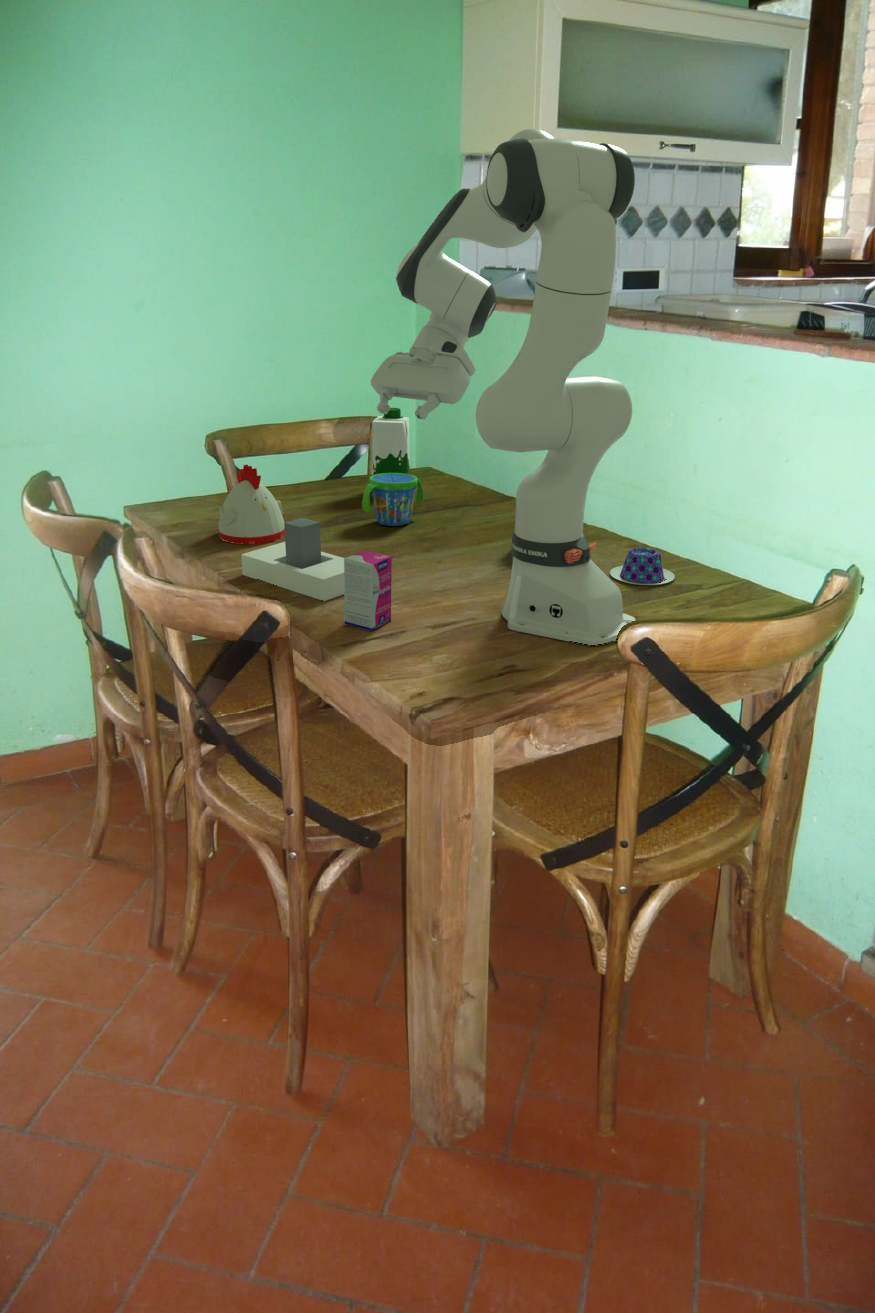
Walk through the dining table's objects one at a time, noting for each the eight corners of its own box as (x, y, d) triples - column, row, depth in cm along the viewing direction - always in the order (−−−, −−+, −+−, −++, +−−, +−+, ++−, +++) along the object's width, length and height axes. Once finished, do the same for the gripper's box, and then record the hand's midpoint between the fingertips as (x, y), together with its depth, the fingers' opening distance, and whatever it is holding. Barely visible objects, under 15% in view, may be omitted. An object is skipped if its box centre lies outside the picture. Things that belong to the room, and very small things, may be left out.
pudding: (652, 593, 179) (654, 565, 177) (597, 578, 187) (599, 551, 185) (686, 578, 187) (689, 551, 185) (632, 564, 195) (634, 538, 193)
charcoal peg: (322, 579, 184) (319, 522, 180) (304, 585, 181) (301, 527, 176) (305, 574, 186) (302, 517, 182) (287, 580, 183) (284, 522, 179)
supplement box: (373, 632, 160) (371, 564, 156) (343, 624, 163) (341, 558, 158) (393, 621, 165) (392, 554, 160) (364, 614, 168) (362, 549, 163)
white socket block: (368, 585, 181) (367, 564, 179) (324, 601, 173) (323, 579, 172) (286, 561, 194) (285, 541, 192) (242, 574, 186) (241, 554, 185)
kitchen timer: (240, 549, 201) (235, 475, 196) (207, 534, 211) (200, 464, 205) (298, 536, 210) (294, 466, 204) (263, 523, 219) (258, 455, 214)
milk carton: (412, 489, 249) (412, 407, 241) (405, 497, 241) (404, 414, 233) (378, 487, 250) (376, 406, 242) (370, 496, 242) (368, 412, 234)
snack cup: (411, 512, 228) (410, 468, 224) (436, 523, 220) (436, 477, 216) (351, 522, 220) (350, 477, 216) (375, 533, 212) (374, 486, 208)
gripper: (384, 340, 190) (350, 398, 187) (468, 347, 178) (434, 408, 175) (400, 362, 195) (367, 419, 192) (483, 370, 183) (449, 430, 180)
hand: (399, 414), depth 184 cm, fingers open, 8 cm apart
